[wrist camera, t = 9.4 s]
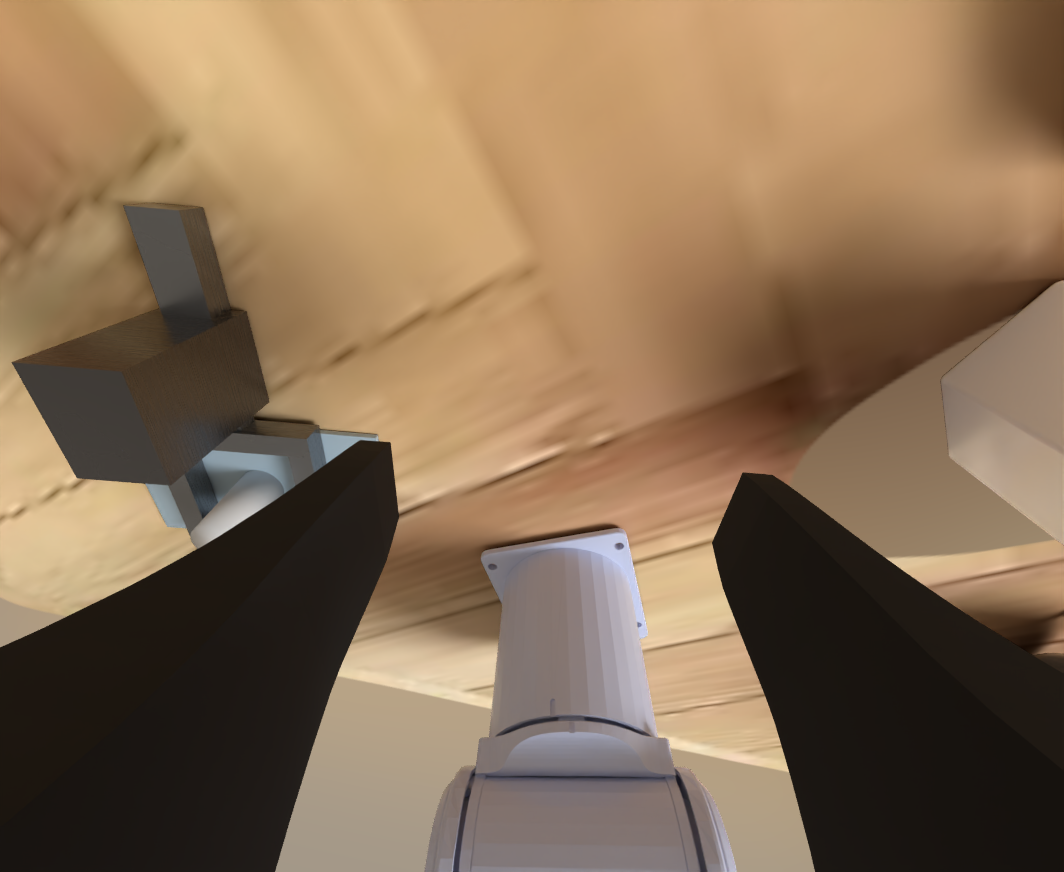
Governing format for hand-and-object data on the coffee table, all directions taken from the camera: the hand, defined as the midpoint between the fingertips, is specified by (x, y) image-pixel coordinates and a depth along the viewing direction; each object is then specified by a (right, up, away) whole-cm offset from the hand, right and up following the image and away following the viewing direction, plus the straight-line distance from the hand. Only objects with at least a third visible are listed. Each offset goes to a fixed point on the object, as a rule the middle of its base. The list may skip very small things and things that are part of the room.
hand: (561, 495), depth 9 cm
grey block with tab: (-14, +3, +10) cm, 17 cm away
